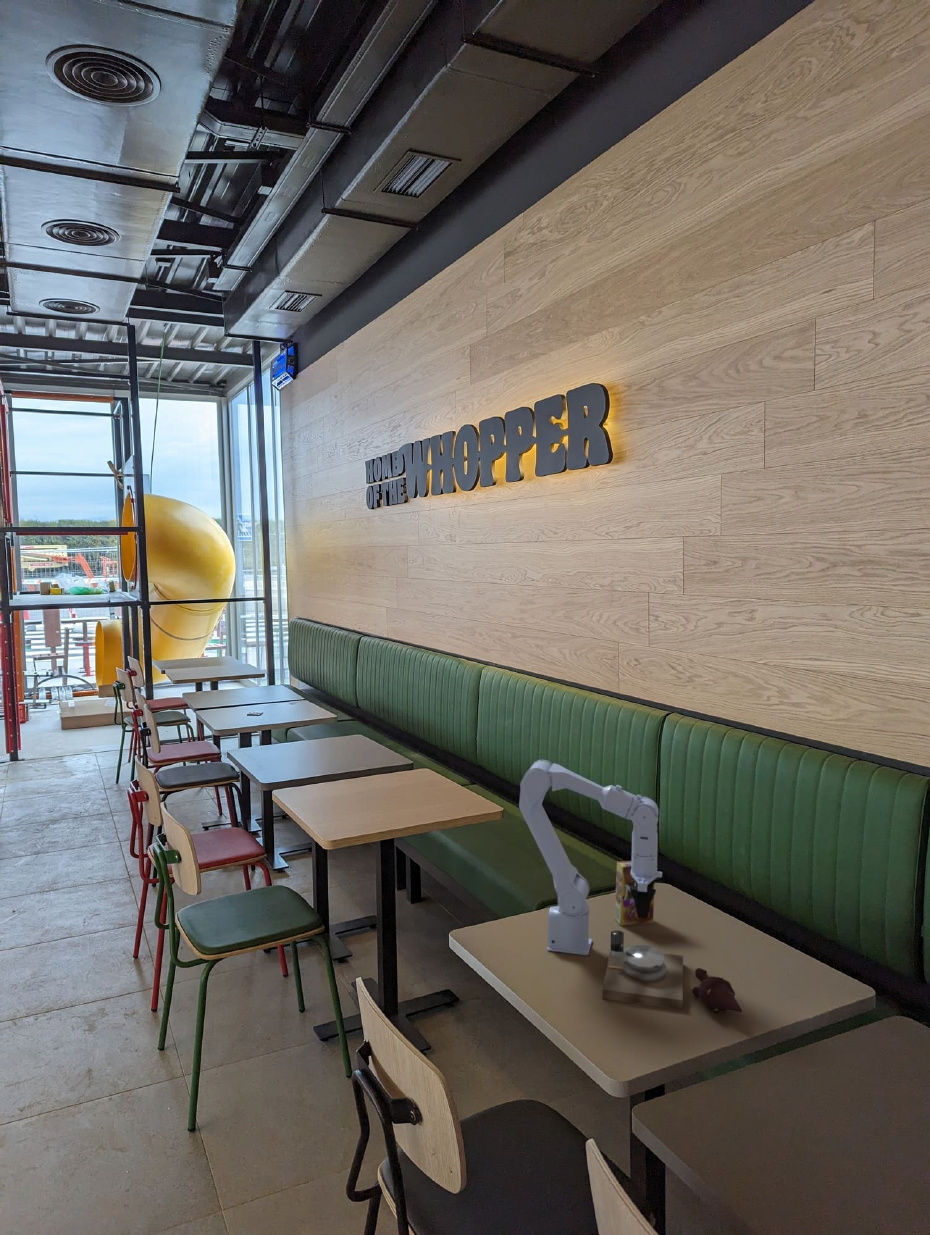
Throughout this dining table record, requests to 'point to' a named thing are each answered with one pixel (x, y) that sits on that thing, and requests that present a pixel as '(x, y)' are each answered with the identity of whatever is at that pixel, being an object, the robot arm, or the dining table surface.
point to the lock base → (645, 983)
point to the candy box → (628, 897)
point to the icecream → (715, 993)
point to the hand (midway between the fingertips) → (643, 911)
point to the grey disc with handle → (637, 954)
